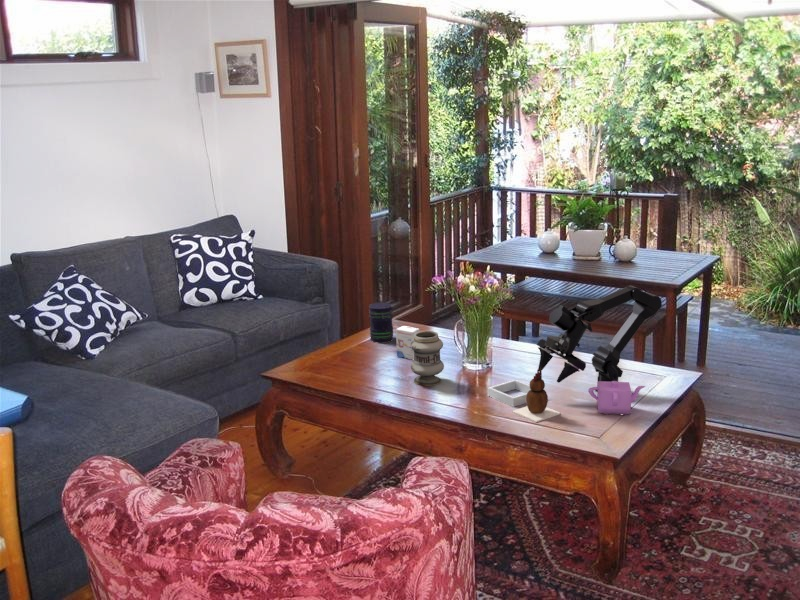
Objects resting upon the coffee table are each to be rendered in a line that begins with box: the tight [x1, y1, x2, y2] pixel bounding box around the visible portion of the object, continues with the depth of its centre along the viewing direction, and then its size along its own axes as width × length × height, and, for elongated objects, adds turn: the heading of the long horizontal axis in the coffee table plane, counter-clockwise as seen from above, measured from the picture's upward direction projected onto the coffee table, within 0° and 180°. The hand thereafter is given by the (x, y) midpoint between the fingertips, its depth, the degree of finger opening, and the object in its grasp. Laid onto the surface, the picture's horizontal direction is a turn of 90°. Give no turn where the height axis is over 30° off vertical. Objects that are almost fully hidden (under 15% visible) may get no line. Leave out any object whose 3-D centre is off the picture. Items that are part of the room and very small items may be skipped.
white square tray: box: [487, 379, 531, 408], centre depth 295 cm, size 13×13×3 cm
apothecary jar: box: [410, 330, 445, 387], centre depth 310 cm, size 12×12×18 cm
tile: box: [512, 405, 561, 423], centre depth 281 cm, size 11×11×1 cm
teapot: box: [587, 380, 646, 415], centre depth 279 cm, size 18×14×10 cm
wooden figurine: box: [526, 367, 549, 413], centre depth 279 cm, size 7×6×15 cm
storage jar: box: [368, 301, 394, 344], centre depth 362 cm, size 10×10×15 cm
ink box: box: [395, 325, 421, 360], centre depth 339 cm, size 9×5×12 cm, turn 55°
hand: (548, 376), depth 287 cm, fingers open, 9 cm apart
